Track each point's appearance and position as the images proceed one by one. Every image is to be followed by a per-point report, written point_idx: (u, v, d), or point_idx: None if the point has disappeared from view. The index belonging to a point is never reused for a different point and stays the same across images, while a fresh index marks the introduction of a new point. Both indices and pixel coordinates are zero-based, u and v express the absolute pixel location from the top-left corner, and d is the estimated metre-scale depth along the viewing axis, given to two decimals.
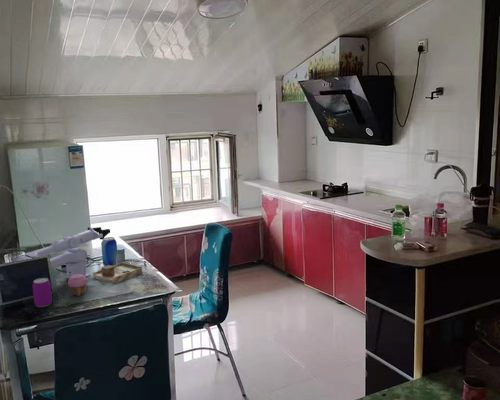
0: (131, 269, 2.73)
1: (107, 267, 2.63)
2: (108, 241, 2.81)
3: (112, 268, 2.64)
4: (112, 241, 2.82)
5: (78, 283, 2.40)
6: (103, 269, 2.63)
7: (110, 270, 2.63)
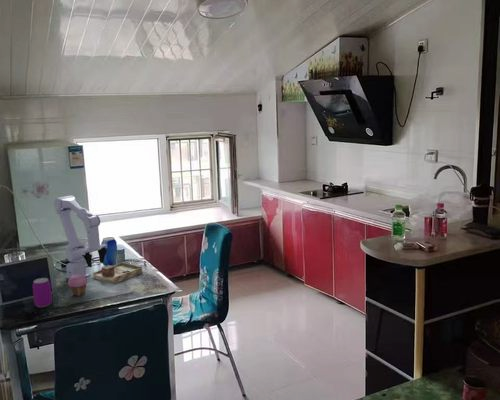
0: (131, 269, 2.73)
1: (107, 267, 2.63)
2: (108, 241, 2.81)
3: (112, 268, 2.64)
4: (112, 241, 2.82)
5: (78, 283, 2.40)
6: (103, 269, 2.63)
7: (110, 270, 2.63)
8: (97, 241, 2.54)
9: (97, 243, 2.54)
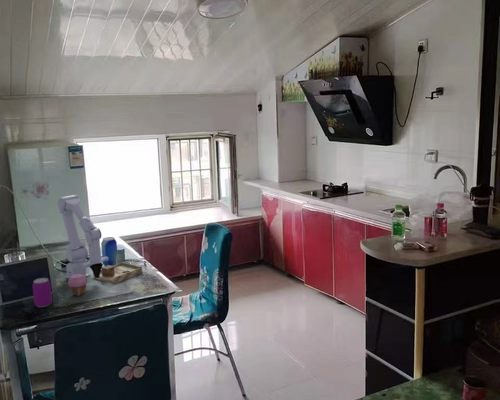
0: (131, 269, 2.73)
1: (107, 267, 2.63)
2: (108, 241, 2.81)
3: (112, 268, 2.64)
4: (112, 241, 2.82)
5: (78, 283, 2.40)
6: (103, 269, 2.63)
7: (110, 270, 2.63)
8: (98, 254, 2.55)
9: (98, 256, 2.55)
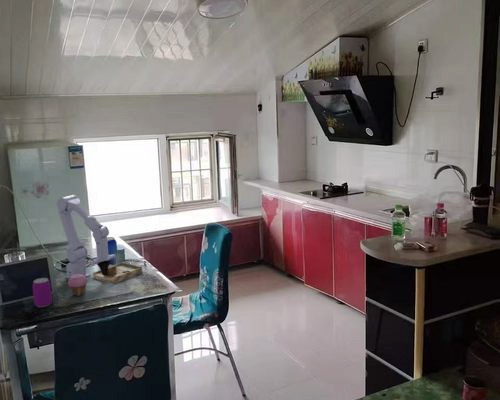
0: (131, 269, 2.73)
1: (109, 266, 2.64)
2: (108, 241, 2.81)
3: (114, 267, 2.65)
4: (112, 241, 2.82)
5: (78, 283, 2.40)
6: None
7: (112, 269, 2.64)
8: (106, 252, 2.59)
9: (106, 254, 2.59)
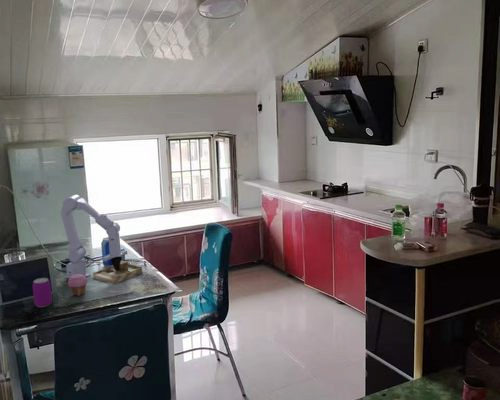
0: (131, 269, 2.73)
1: (121, 262, 2.71)
2: (108, 241, 2.81)
3: (126, 263, 2.71)
4: None
5: (78, 283, 2.40)
6: None
7: (124, 265, 2.70)
8: (118, 248, 2.65)
9: (118, 250, 2.65)
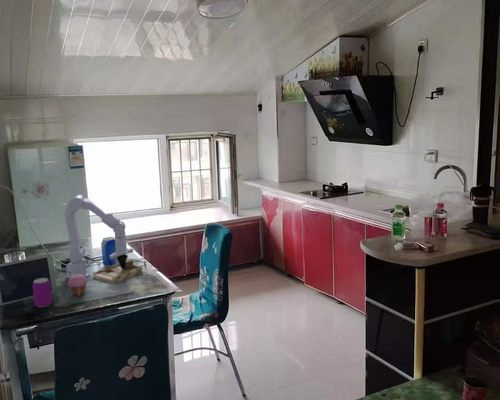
0: (131, 269, 2.73)
1: (126, 260, 2.74)
2: (108, 241, 2.81)
3: (131, 261, 2.74)
4: (112, 241, 2.82)
5: (78, 283, 2.40)
6: None
7: (129, 263, 2.73)
8: (124, 246, 2.68)
9: (124, 248, 2.69)
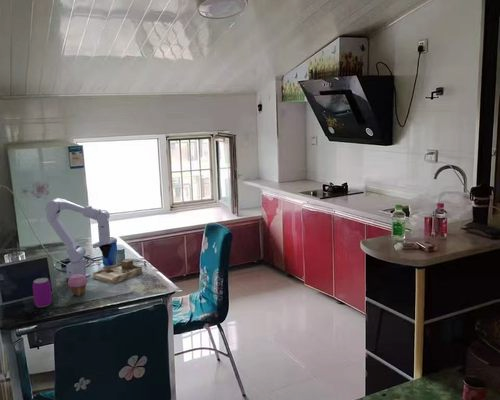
0: (131, 269, 2.73)
1: (126, 260, 2.74)
2: None
3: (131, 261, 2.74)
4: None
5: (78, 283, 2.40)
6: (123, 262, 2.73)
7: (129, 263, 2.73)
8: (107, 235, 2.65)
9: (107, 237, 2.65)
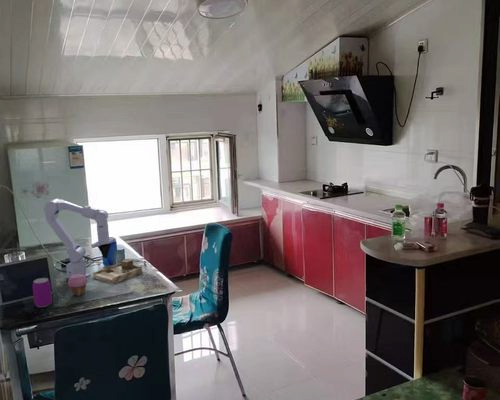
0: (131, 269, 2.73)
1: (126, 260, 2.74)
2: None
3: (131, 261, 2.74)
4: None
5: (78, 283, 2.40)
6: (123, 262, 2.73)
7: (129, 263, 2.73)
8: (106, 235, 2.65)
9: (106, 237, 2.65)
